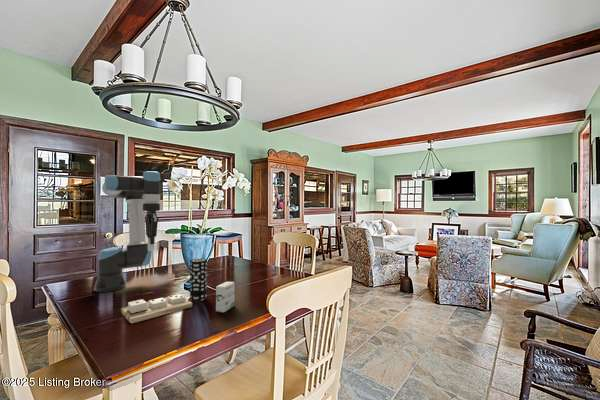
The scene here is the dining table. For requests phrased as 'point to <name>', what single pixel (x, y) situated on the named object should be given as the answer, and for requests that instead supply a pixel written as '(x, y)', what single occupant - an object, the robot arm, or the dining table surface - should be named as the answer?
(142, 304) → the one pip tile
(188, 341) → the dining table surface
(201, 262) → the spotted tube
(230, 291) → the ink box
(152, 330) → the dining table surface
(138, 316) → the button board
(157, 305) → the two pip tile
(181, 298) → the three pip tile
